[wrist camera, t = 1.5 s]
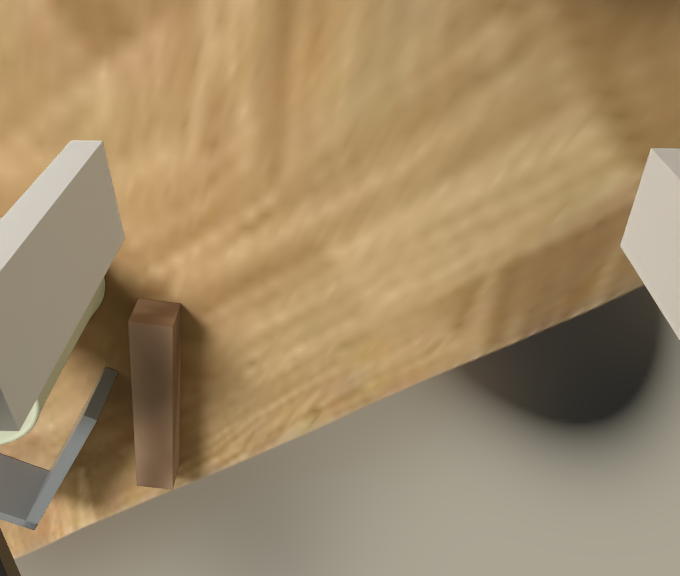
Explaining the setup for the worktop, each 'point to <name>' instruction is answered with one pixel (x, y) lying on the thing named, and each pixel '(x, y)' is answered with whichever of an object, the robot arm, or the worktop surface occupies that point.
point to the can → (55, 369)
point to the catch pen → (41, 485)
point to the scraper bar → (156, 390)
